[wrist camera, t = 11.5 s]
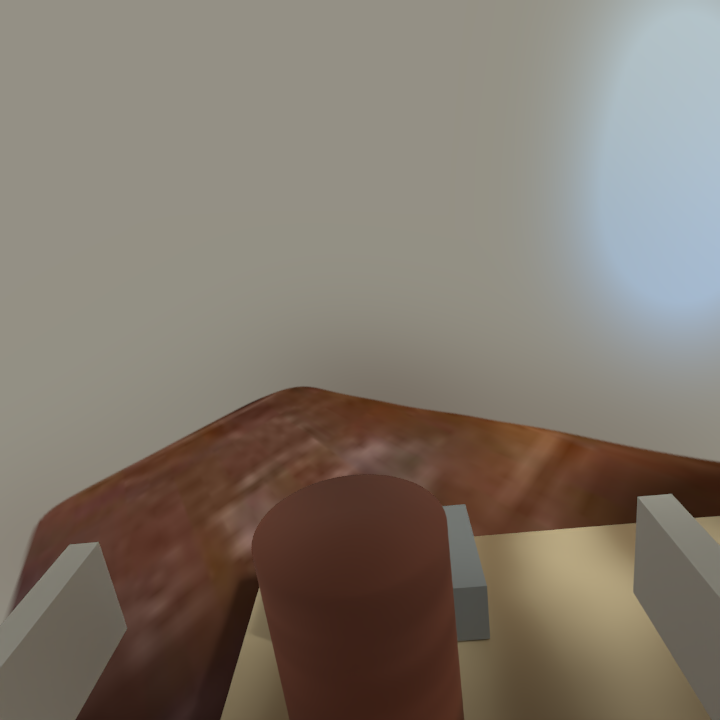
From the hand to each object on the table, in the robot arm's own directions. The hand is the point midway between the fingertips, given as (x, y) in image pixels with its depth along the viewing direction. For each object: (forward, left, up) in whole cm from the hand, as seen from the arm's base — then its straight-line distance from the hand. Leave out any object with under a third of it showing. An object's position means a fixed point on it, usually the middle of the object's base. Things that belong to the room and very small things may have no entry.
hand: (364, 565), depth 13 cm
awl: (0, +2, -10) cm, 10 cm away
